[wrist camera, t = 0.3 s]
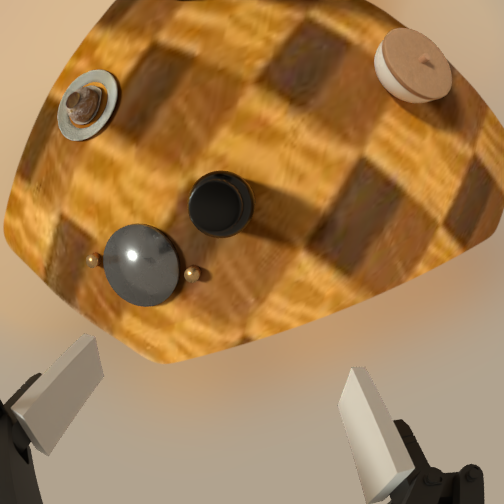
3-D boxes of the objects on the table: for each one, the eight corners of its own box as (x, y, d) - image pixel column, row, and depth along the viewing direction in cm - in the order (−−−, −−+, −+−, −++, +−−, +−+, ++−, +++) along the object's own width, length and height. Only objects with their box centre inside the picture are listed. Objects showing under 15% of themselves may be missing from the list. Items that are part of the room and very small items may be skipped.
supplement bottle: (260, 221, 35) (261, 239, 24) (209, 232, 36) (185, 253, 24) (250, 169, 34) (245, 160, 22) (198, 180, 34) (168, 178, 23)
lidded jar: (371, 107, 31) (401, 88, 22) (357, 44, 29) (379, 14, 20) (430, 114, 31) (467, 102, 22) (416, 55, 28) (446, 33, 19)
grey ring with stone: (52, 132, 33) (35, 129, 28) (81, 67, 30) (66, 59, 26) (99, 150, 34) (82, 147, 29) (133, 77, 31) (120, 67, 27)
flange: (90, 219, 36) (84, 221, 34) (203, 229, 36) (201, 231, 34) (94, 294, 38) (89, 297, 37) (199, 312, 38) (197, 316, 37)
